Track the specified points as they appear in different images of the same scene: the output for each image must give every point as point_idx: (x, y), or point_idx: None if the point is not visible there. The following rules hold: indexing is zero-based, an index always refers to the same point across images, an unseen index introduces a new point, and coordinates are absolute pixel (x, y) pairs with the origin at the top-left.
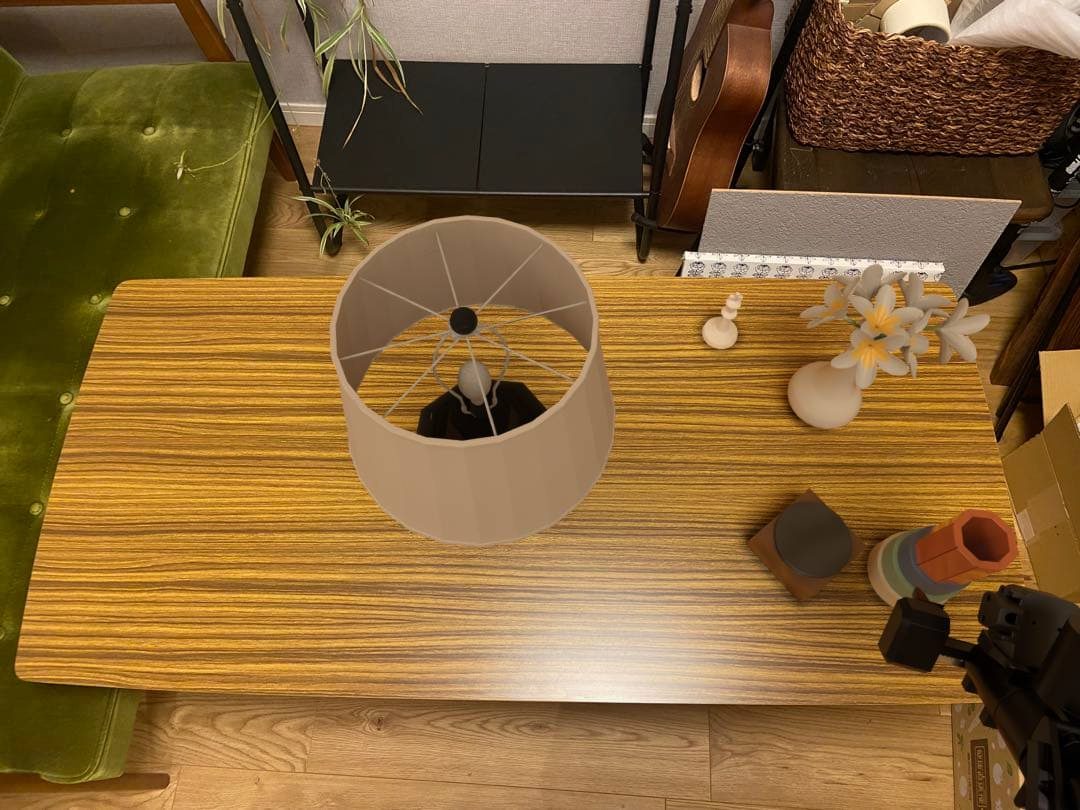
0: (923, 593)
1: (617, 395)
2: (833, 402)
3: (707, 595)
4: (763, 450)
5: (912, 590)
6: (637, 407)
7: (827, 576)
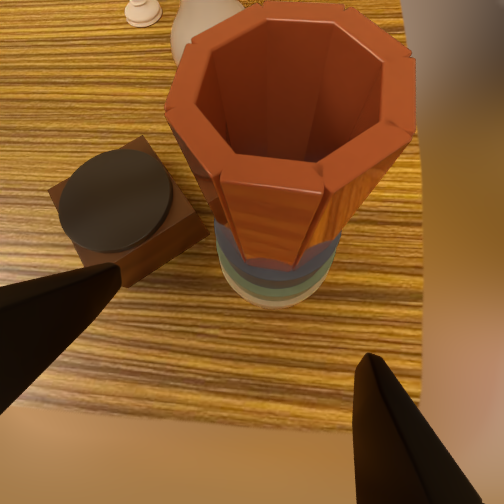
0: (68, 280)
1: (21, 69)
2: (198, 25)
3: (22, 273)
4: (148, 118)
5: (233, 278)
6: (35, 80)
7: (112, 250)
